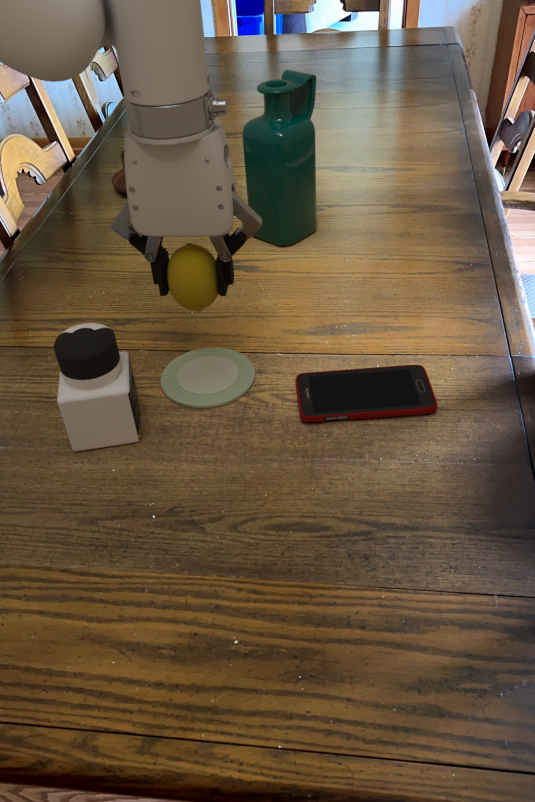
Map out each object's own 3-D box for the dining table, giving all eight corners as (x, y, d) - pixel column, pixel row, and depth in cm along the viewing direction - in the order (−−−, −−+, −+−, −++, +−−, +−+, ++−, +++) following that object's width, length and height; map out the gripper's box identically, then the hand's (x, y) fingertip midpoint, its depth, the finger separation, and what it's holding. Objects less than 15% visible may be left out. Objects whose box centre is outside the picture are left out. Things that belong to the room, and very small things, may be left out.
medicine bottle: (141, 443, 75) (119, 350, 68) (72, 453, 75) (43, 361, 67) (139, 400, 81) (119, 310, 73) (75, 410, 80) (48, 320, 72)
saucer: (151, 407, 80) (150, 403, 79) (171, 349, 88) (170, 345, 88) (249, 409, 78) (248, 406, 78) (260, 350, 87) (259, 347, 86)
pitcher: (285, 250, 106) (278, 95, 91) (244, 234, 110) (231, 84, 96) (327, 225, 111) (326, 75, 97) (286, 211, 115) (280, 66, 101)
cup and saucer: (127, 172, 132) (121, 138, 128) (189, 173, 130) (185, 139, 126) (103, 199, 123) (95, 164, 119) (169, 202, 121) (164, 166, 117)
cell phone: (438, 414, 76) (439, 407, 75) (300, 424, 76) (300, 418, 75) (423, 370, 82) (423, 363, 81) (294, 379, 82) (294, 373, 81)
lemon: (184, 295, 80) (173, 229, 75) (231, 300, 79) (223, 233, 73) (165, 322, 76) (152, 254, 71) (213, 328, 75) (204, 259, 69)
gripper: (270, 98, 66) (279, 271, 77) (90, 103, 68) (125, 271, 79) (261, 126, 60) (272, 309, 72) (64, 131, 62) (107, 308, 74)
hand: (195, 287), depth 75 cm, fingers closed on lemon, 5 cm apart
